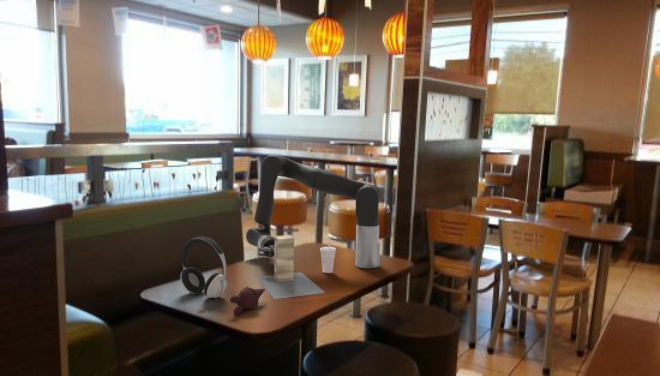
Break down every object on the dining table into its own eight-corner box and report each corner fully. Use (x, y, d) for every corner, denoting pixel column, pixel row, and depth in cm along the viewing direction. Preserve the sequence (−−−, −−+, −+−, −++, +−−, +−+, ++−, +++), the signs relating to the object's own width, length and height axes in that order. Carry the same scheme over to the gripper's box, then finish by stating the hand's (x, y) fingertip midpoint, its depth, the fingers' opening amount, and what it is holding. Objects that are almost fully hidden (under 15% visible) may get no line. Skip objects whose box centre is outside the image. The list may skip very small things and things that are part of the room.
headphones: (234, 297, 163) (233, 238, 160) (216, 305, 155) (215, 243, 153) (191, 286, 172) (191, 230, 169) (173, 293, 165) (172, 235, 162)
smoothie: (334, 276, 187) (334, 240, 185) (317, 274, 188) (318, 239, 187) (337, 271, 193) (338, 236, 192) (321, 269, 195) (321, 235, 193)
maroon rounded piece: (253, 279, 162) (220, 296, 149) (270, 278, 157) (237, 295, 145) (259, 299, 162) (226, 318, 150) (275, 299, 158) (243, 318, 146)
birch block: (274, 278, 181) (274, 236, 179) (289, 276, 183) (290, 234, 181) (277, 282, 177) (278, 238, 175) (293, 280, 179) (294, 237, 177)
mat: (255, 278, 182) (255, 277, 182) (301, 273, 189) (301, 272, 189) (274, 300, 160) (274, 299, 160) (325, 294, 167) (325, 292, 167)
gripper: (252, 237, 194) (264, 248, 178) (285, 235, 199) (299, 245, 183) (252, 256, 195) (264, 268, 179) (284, 253, 200) (299, 264, 184)
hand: (282, 256), depth 181 cm, fingers closed
